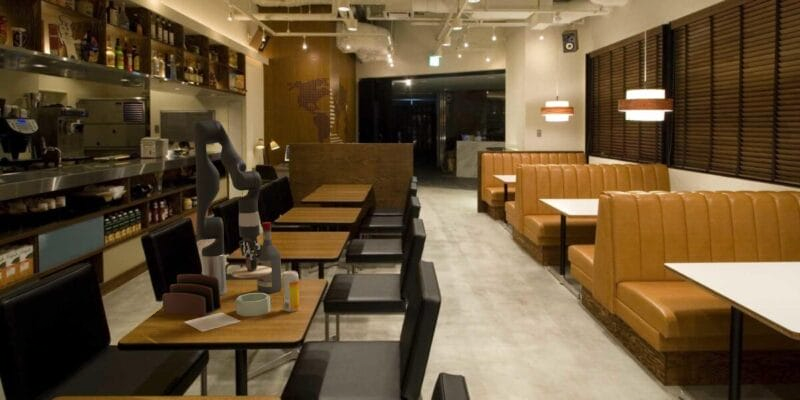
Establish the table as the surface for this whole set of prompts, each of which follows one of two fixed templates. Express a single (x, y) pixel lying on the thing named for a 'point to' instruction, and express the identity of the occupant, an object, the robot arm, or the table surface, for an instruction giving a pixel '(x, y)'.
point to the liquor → (269, 263)
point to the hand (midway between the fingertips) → (251, 268)
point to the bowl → (253, 304)
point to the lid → (251, 271)
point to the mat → (212, 321)
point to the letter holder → (193, 295)
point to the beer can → (291, 291)
